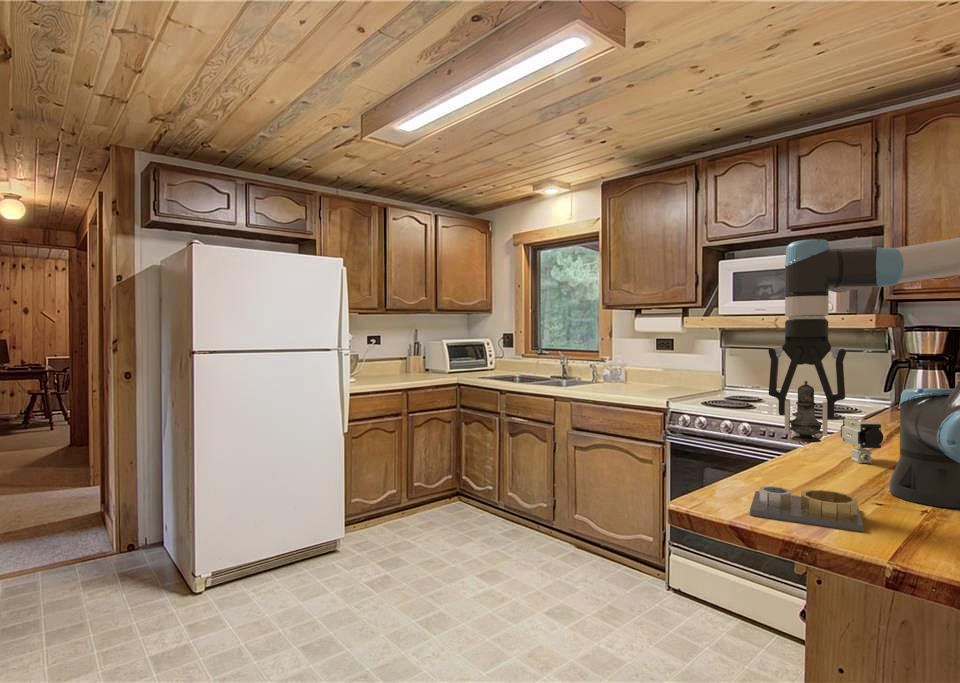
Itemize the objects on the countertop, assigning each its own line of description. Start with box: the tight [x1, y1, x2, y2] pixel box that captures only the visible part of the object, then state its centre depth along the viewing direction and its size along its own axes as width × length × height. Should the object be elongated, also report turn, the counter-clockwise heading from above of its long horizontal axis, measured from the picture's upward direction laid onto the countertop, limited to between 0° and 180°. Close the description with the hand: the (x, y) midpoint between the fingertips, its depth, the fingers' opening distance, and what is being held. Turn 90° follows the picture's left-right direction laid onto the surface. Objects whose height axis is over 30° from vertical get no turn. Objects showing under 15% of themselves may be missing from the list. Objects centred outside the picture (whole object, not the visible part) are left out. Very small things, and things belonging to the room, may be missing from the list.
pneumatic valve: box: [840, 416, 885, 464], centre depth 149 cm, size 6×12×12 cm, turn 174°
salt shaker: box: [789, 380, 823, 444], centre depth 113 cm, size 6×6×12 cm
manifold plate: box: [749, 485, 864, 533], centre depth 109 cm, size 18×14×4 cm
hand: (805, 432), depth 113 cm, fingers closed on salt shaker, 6 cm apart
